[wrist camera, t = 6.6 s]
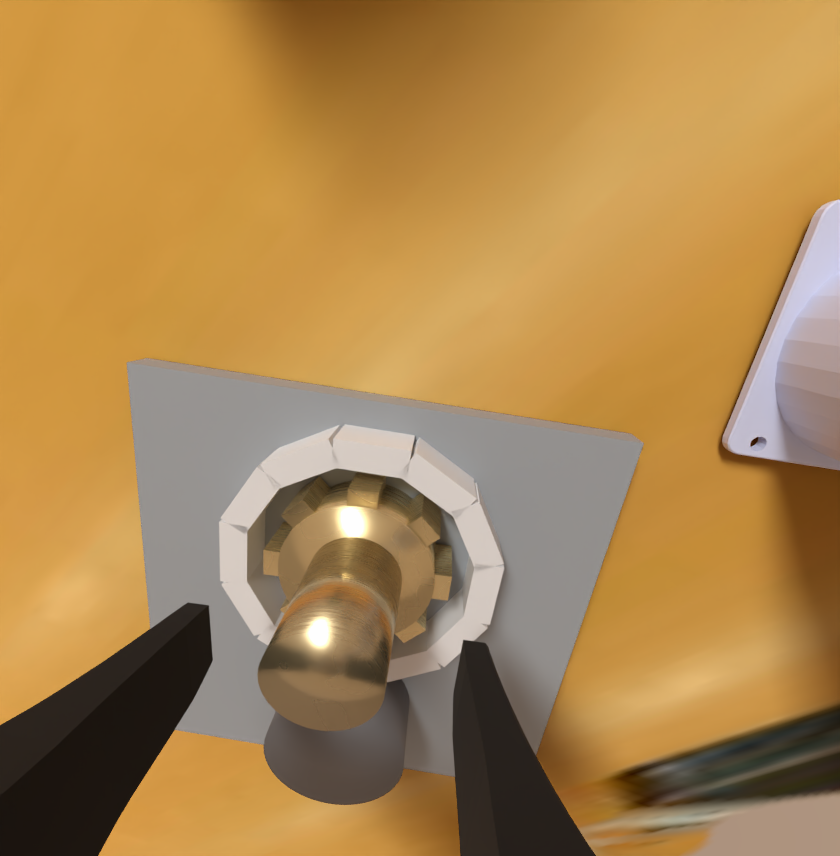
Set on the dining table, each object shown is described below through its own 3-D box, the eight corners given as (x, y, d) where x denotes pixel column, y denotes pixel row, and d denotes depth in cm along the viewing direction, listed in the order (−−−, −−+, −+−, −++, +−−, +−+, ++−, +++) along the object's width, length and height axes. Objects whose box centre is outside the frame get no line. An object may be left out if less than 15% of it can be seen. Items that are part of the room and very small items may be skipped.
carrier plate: (631, 433, 15) (684, 474, 11) (520, 765, 20) (535, 857, 17) (146, 358, 15) (61, 376, 12) (172, 707, 21) (120, 786, 17)
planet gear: (462, 479, 15) (472, 598, 9) (438, 621, 17) (433, 791, 11) (285, 455, 15) (183, 556, 9) (283, 598, 17) (199, 754, 11)
